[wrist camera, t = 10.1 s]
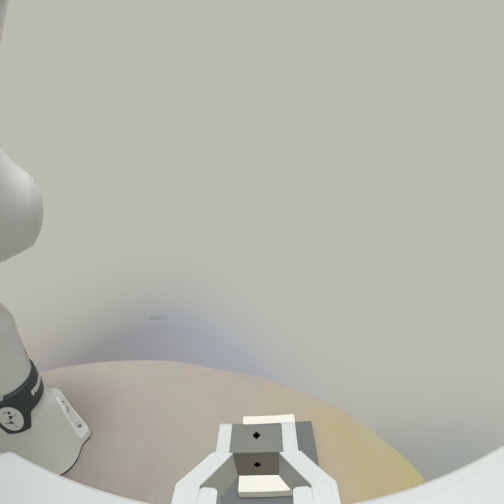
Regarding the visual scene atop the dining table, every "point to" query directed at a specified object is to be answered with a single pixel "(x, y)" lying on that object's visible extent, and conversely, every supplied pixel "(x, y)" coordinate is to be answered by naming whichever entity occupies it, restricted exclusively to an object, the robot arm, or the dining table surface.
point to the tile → (265, 483)
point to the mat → (232, 499)
